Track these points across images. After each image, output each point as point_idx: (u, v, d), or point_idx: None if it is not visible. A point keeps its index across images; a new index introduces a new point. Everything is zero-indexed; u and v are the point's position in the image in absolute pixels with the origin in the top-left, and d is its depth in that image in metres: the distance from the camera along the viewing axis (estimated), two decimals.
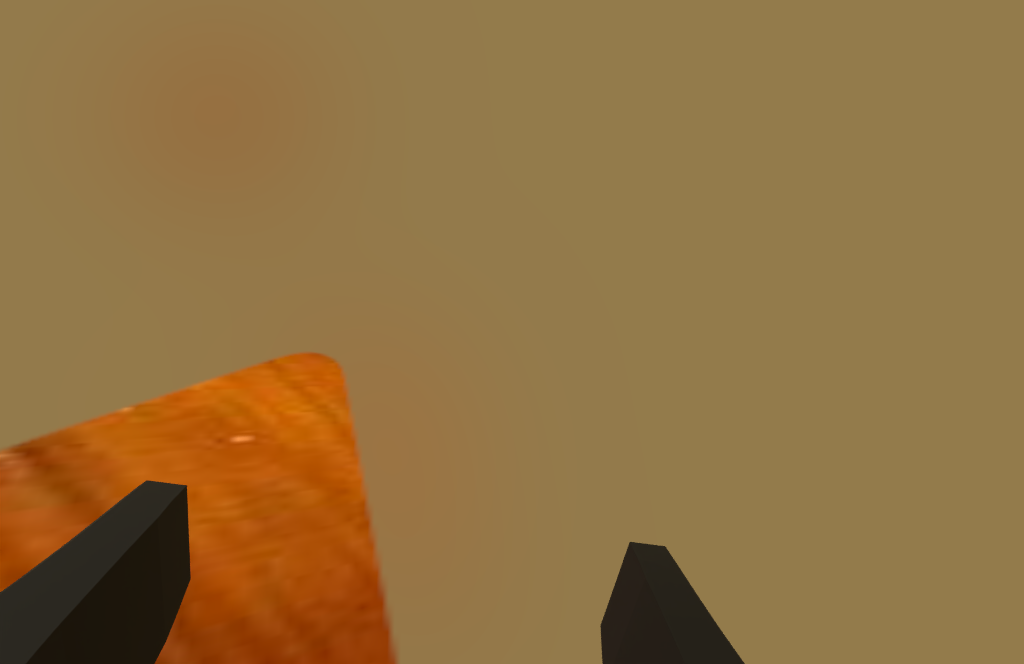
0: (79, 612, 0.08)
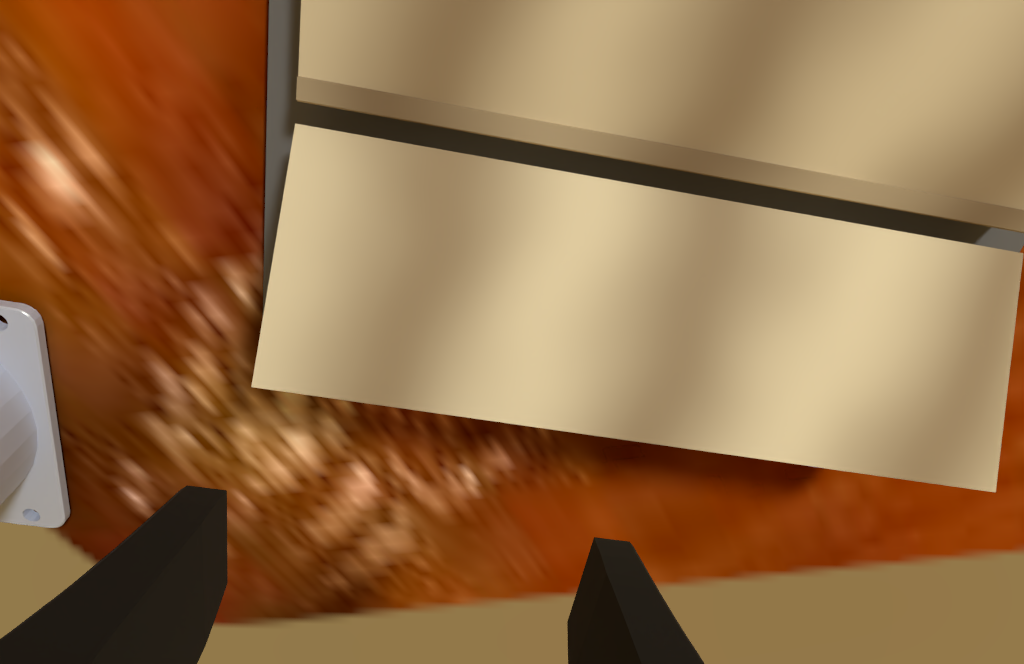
0: (132, 618, 0.08)
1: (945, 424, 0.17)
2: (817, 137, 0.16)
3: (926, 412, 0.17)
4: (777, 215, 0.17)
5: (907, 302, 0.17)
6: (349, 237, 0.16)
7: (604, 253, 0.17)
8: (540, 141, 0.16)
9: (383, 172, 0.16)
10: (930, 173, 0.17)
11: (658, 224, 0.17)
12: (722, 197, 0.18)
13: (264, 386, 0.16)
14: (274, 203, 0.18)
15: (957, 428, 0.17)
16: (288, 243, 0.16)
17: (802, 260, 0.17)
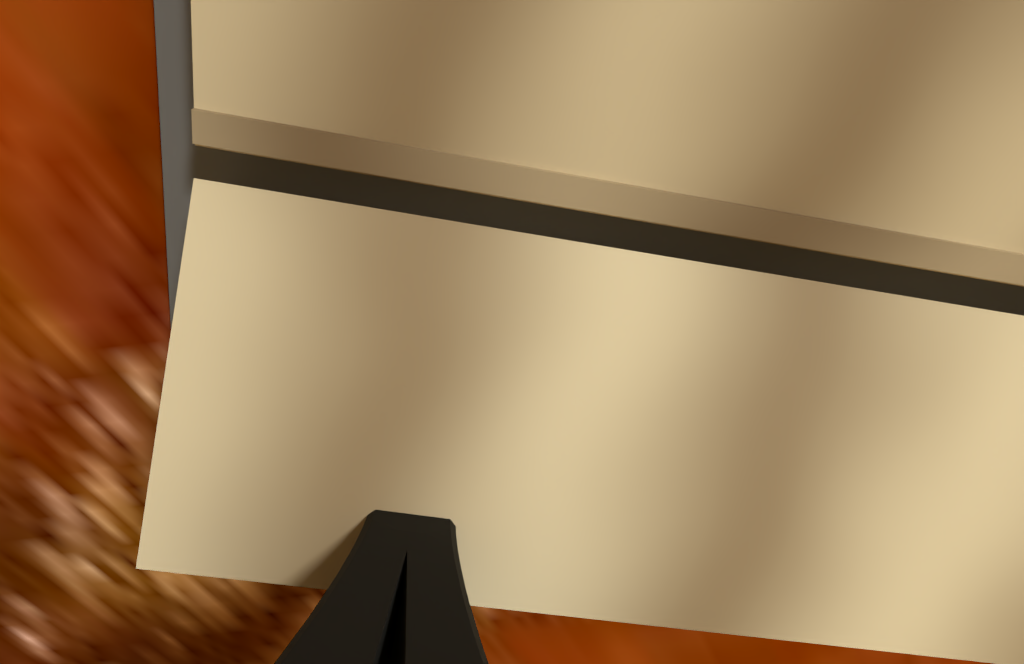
0: (379, 644, 0.08)
1: None
2: (963, 195, 0.11)
3: None
4: (897, 303, 0.12)
5: None
6: (276, 347, 0.11)
7: (649, 363, 0.11)
8: (558, 202, 0.11)
9: (326, 249, 0.11)
10: None
11: (728, 319, 0.12)
12: (810, 269, 0.13)
13: (155, 567, 0.11)
14: None
15: None
16: (187, 357, 0.11)
17: (931, 367, 0.12)
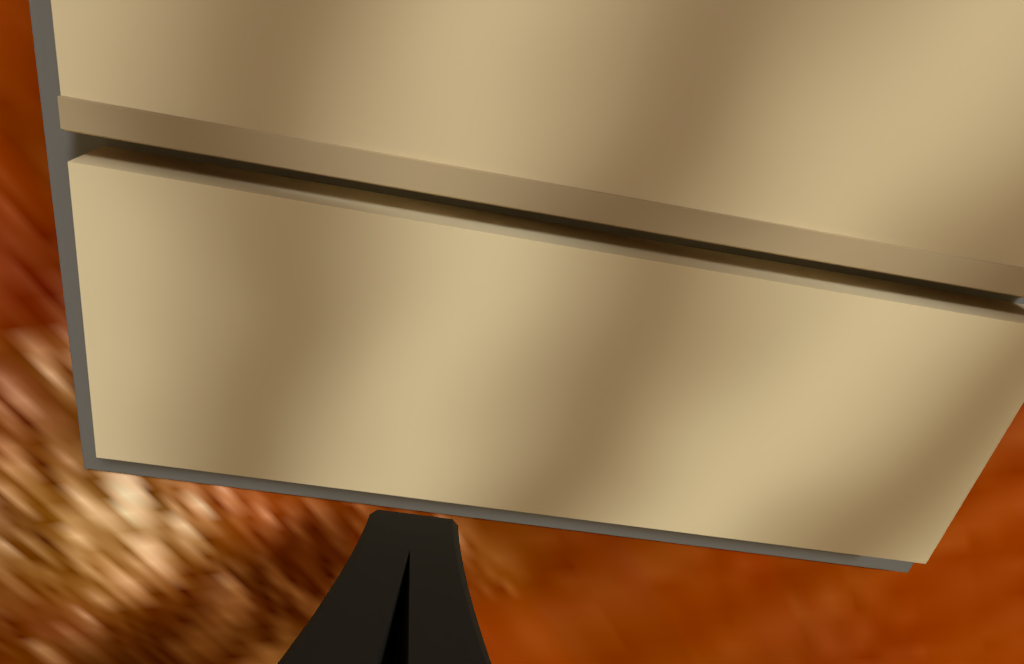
0: (382, 645, 0.08)
1: (890, 505, 0.15)
2: (794, 181, 0.12)
3: (871, 494, 0.15)
4: (738, 282, 0.13)
5: (886, 385, 0.14)
6: (172, 307, 0.13)
7: (500, 327, 0.13)
8: (411, 186, 0.12)
9: (201, 227, 0.12)
10: (949, 228, 0.12)
11: (574, 293, 0.13)
12: None
13: (110, 457, 0.14)
14: (73, 262, 0.13)
15: (903, 508, 0.15)
16: (99, 312, 0.13)
17: (760, 337, 0.13)
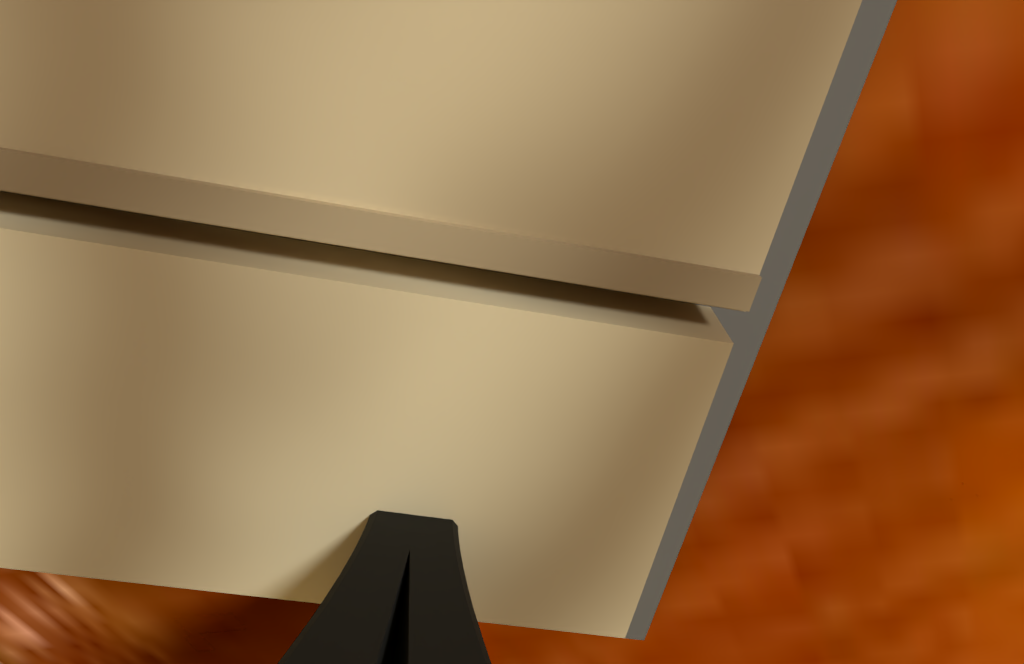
0: (382, 645, 0.08)
1: (558, 567, 0.12)
2: (287, 134, 0.08)
3: (529, 553, 0.11)
4: (259, 277, 0.09)
5: (505, 416, 0.10)
6: None
7: None
8: None
9: None
10: (530, 202, 0.09)
11: (33, 293, 0.09)
12: None
13: None
14: None
15: (576, 572, 0.12)
16: None
17: (313, 352, 0.10)
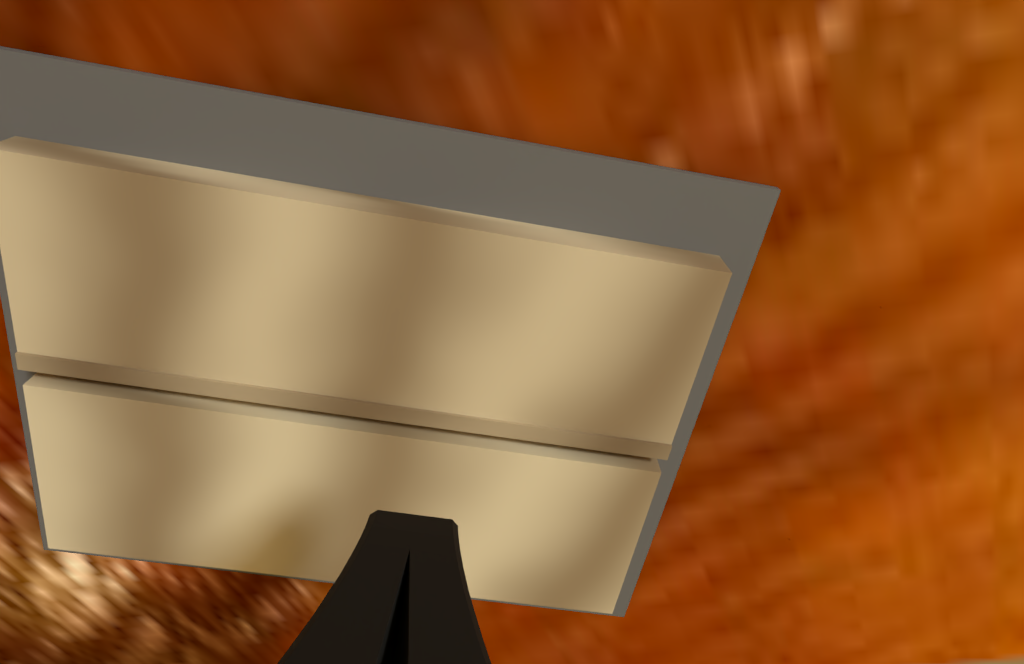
0: (381, 645, 0.08)
1: (577, 576, 0.23)
2: (464, 392, 0.19)
3: (562, 569, 0.23)
4: (444, 446, 0.20)
5: (553, 504, 0.21)
6: (90, 461, 0.20)
7: (297, 472, 0.21)
8: (229, 397, 0.19)
9: (105, 418, 0.20)
10: (568, 416, 0.20)
11: (341, 453, 0.20)
12: None
13: (57, 548, 0.22)
14: None
15: (587, 579, 0.23)
16: (45, 465, 0.20)
17: (465, 477, 0.21)
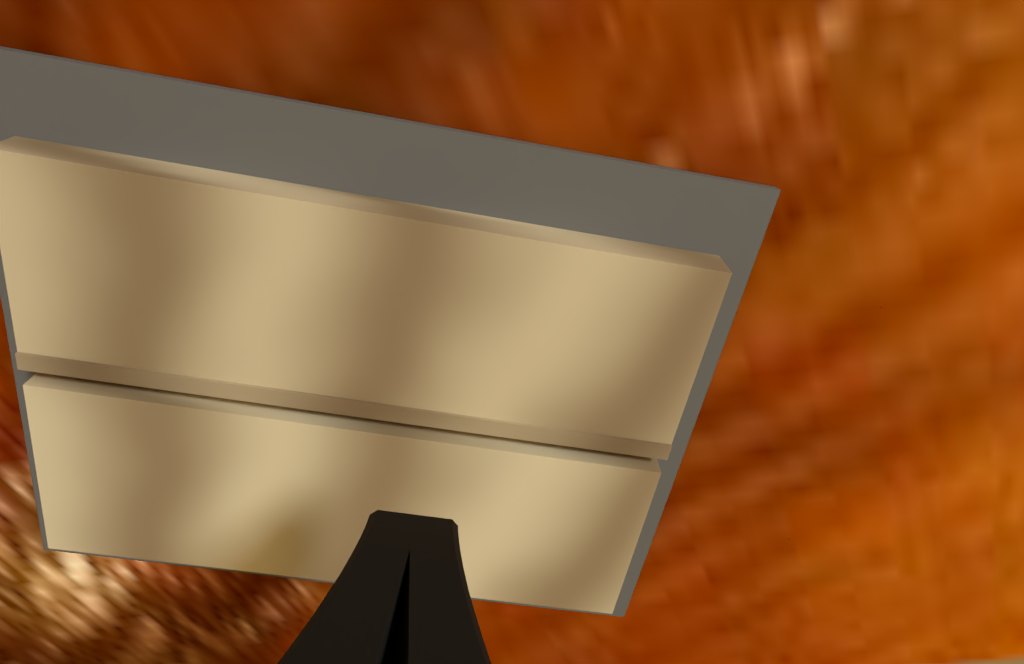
0: (381, 645, 0.08)
1: (577, 576, 0.23)
2: (464, 392, 0.19)
3: (562, 569, 0.23)
4: (444, 446, 0.20)
5: (553, 504, 0.21)
6: (90, 461, 0.20)
7: (297, 472, 0.21)
8: (229, 397, 0.19)
9: (105, 418, 0.20)
10: (568, 416, 0.20)
11: (341, 453, 0.20)
12: None
13: (57, 548, 0.22)
14: None
15: (587, 579, 0.23)
16: (45, 465, 0.20)
17: (465, 477, 0.21)
